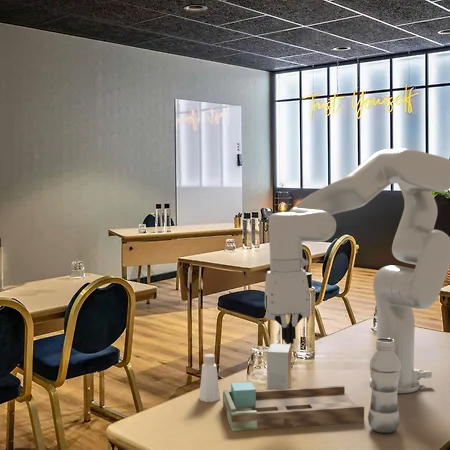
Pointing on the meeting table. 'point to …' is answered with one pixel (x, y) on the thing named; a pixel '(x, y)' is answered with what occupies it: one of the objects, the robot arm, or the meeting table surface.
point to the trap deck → (294, 408)
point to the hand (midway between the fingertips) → (288, 342)
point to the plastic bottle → (384, 387)
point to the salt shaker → (209, 380)
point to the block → (243, 394)
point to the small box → (279, 366)
